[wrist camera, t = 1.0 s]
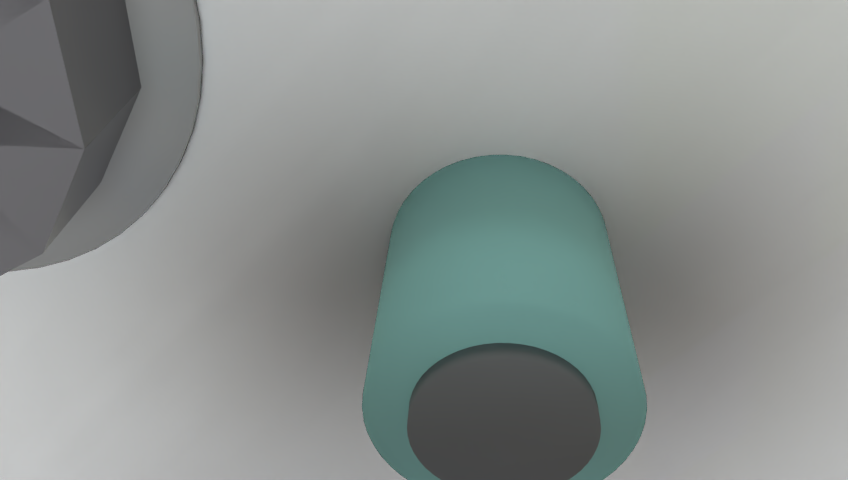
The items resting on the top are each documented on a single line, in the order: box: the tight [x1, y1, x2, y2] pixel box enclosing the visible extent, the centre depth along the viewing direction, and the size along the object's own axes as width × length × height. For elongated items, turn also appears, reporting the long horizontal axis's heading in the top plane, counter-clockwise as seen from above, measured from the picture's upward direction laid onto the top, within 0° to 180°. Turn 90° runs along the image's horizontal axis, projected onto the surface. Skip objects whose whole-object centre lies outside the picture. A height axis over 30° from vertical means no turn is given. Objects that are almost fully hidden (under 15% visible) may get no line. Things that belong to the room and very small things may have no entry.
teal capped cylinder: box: [362, 155, 647, 480], centre depth 16 cm, size 5×5×5 cm
